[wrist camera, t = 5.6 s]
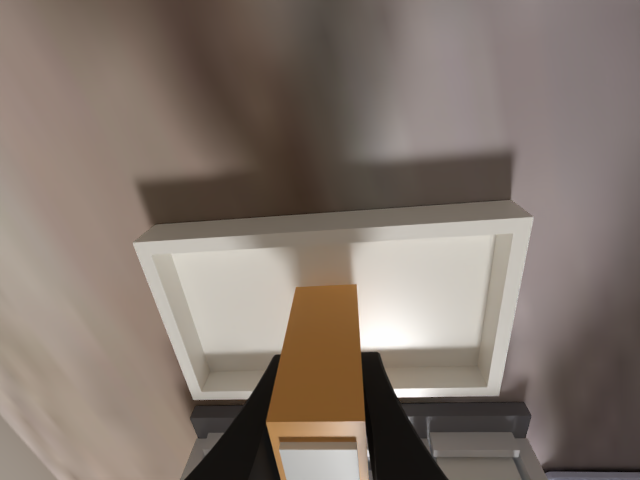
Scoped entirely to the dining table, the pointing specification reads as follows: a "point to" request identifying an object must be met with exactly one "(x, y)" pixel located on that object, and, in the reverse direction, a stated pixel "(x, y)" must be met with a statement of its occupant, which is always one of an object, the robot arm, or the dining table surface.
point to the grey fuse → (478, 468)
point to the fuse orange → (320, 389)
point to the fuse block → (419, 432)
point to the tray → (343, 269)
